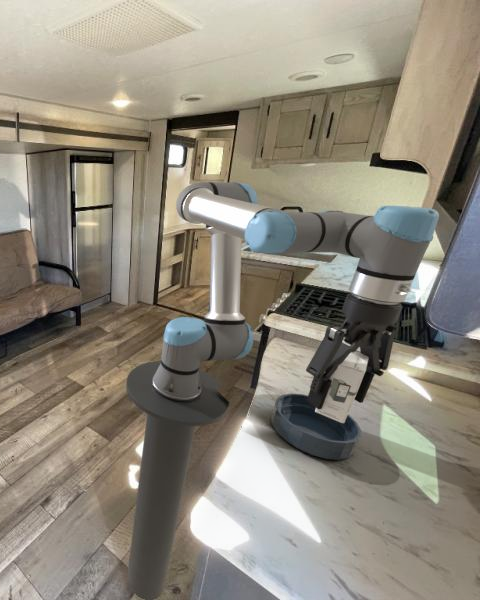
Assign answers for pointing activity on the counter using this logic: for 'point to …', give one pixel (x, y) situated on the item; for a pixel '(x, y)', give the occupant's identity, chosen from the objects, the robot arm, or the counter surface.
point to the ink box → (344, 387)
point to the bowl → (314, 428)
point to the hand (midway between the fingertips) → (334, 401)
